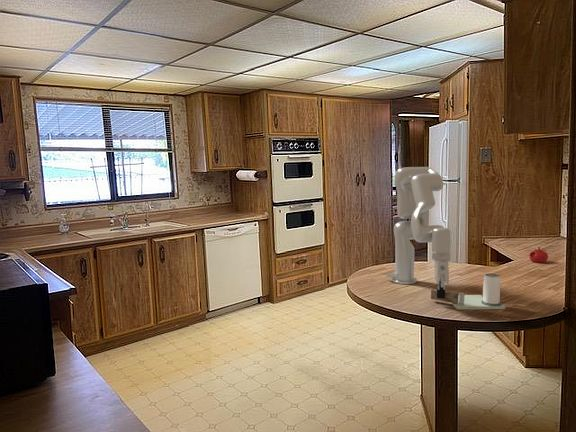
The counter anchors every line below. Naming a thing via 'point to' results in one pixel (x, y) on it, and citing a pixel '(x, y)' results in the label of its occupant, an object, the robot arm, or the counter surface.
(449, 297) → the leg
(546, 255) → the pomegranate
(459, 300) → the board
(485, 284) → the can
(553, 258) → the counter surface
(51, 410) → the counter surface
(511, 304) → the counter surface
